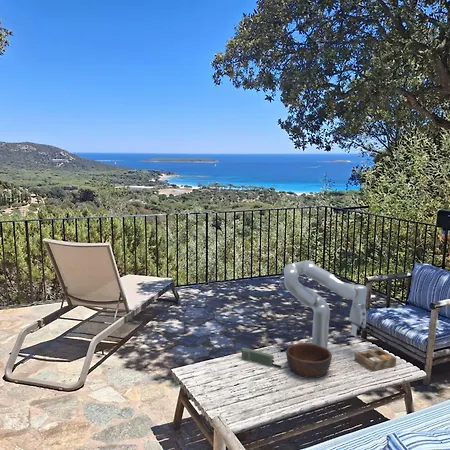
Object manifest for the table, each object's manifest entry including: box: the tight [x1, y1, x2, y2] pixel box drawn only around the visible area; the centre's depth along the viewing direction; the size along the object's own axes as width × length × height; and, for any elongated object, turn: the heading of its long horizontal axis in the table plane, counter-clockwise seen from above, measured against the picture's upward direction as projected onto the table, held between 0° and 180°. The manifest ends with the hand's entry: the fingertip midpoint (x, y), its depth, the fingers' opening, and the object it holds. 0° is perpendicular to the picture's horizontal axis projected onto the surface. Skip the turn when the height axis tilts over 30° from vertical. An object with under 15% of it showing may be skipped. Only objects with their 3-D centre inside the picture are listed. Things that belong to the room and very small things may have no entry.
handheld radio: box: [241, 346, 282, 369], centre depth 236 cm, size 7×3×25 cm
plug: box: [350, 322, 359, 338], centre depth 249 cm, size 4×4×8 cm
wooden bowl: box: [285, 342, 333, 379], centre depth 229 cm, size 25×25×10 cm
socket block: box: [354, 347, 397, 372], centre depth 238 cm, size 18×14×5 cm
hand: (356, 333), depth 250 cm, fingers closed on plug, 4 cm apart
